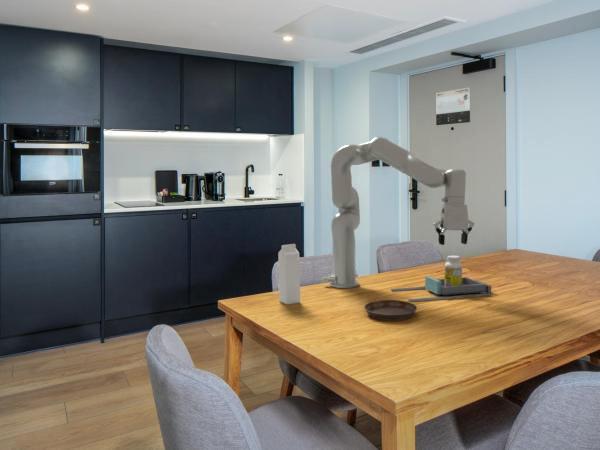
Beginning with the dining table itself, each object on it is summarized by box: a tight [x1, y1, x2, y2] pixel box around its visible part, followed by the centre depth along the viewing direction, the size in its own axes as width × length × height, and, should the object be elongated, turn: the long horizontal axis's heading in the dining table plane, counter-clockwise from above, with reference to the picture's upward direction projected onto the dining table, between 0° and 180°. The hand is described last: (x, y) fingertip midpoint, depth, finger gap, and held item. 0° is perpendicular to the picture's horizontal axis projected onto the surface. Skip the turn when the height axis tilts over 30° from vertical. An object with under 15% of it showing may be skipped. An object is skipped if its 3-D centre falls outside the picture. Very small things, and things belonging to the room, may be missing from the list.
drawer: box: [424, 275, 487, 296], centre depth 201 cm, size 20×14×6 cm
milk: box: [277, 243, 301, 305], centre depth 190 cm, size 6×6×22 cm
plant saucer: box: [363, 299, 418, 322], centre depth 172 cm, size 18×18×3 cm
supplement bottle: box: [444, 255, 463, 287], centre depth 200 cm, size 7×7×13 cm
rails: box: [390, 279, 492, 303], centre depth 200 cm, size 36×18×3 cm, turn 102°
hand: (452, 244), depth 199 cm, fingers open, 9 cm apart
